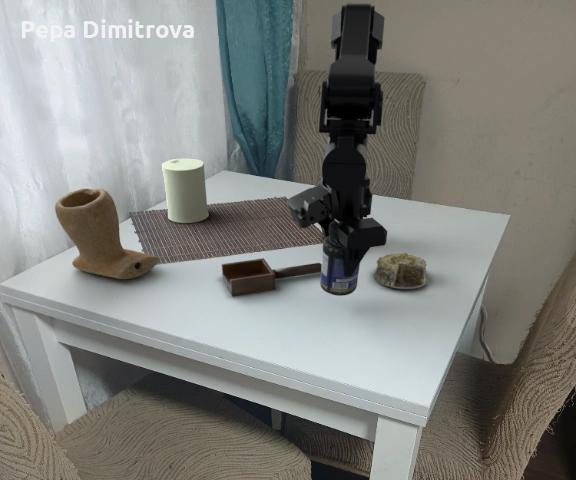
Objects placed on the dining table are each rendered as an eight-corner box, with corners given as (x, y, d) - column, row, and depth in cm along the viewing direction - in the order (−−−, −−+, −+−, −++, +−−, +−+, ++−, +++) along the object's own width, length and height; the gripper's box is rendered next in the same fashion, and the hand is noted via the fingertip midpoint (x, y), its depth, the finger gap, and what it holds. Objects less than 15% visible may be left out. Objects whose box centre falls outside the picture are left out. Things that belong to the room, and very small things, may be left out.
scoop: (315, 265, 110) (316, 250, 108) (329, 281, 104) (330, 265, 103) (222, 279, 105) (221, 264, 103) (232, 296, 100) (231, 280, 98)
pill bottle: (362, 284, 96) (371, 224, 88) (345, 301, 92) (353, 240, 84) (330, 272, 98) (336, 212, 90) (312, 289, 94) (317, 228, 86)
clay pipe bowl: (57, 275, 106) (36, 194, 97) (102, 252, 115) (87, 176, 106) (118, 294, 100) (102, 210, 91) (162, 268, 109) (151, 189, 100)
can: (187, 206, 136) (182, 153, 128) (217, 214, 131) (212, 160, 124) (159, 217, 130) (151, 163, 122) (189, 226, 125) (183, 170, 118)
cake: (363, 275, 107) (364, 247, 105) (408, 267, 111) (410, 240, 108) (391, 294, 100) (393, 265, 97) (439, 285, 103) (442, 256, 100)
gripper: (273, 156, 88) (274, 251, 97) (317, 195, 74) (313, 302, 83) (340, 150, 91) (335, 243, 100) (394, 186, 77) (382, 290, 86)
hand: (339, 267), depth 92 cm, fingers closed on pill bottle, 6 cm apart
